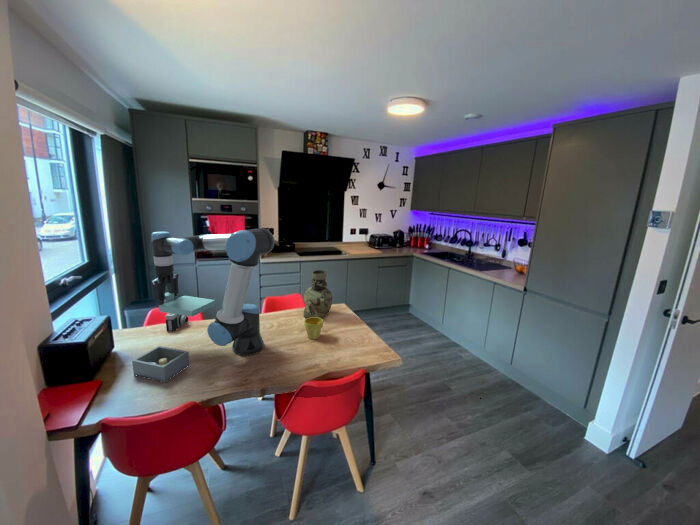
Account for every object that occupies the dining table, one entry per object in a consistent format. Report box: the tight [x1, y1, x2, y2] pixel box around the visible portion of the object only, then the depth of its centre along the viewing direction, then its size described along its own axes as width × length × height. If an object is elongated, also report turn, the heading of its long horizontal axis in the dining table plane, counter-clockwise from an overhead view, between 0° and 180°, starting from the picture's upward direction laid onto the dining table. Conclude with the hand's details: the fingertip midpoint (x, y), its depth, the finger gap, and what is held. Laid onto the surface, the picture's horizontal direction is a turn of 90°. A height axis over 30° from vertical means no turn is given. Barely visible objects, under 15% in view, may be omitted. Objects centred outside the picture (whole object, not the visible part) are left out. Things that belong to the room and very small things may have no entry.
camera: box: [164, 313, 189, 332], centre depth 166 cm, size 14×8×10 cm, turn 6°
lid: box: [158, 291, 216, 318], centre depth 138 cm, size 23×15×6 cm, turn 76°
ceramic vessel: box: [302, 269, 333, 320], centre depth 185 cm, size 19×21×30 cm
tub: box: [131, 345, 191, 383], centre depth 124 cm, size 16×13×7 cm
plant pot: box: [303, 317, 324, 340], centre depth 160 cm, size 10×10×10 cm
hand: (168, 310), depth 141 cm, fingers closed on lid, 4 cm apart
